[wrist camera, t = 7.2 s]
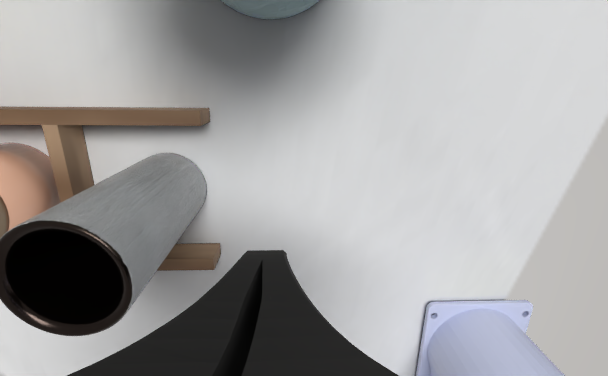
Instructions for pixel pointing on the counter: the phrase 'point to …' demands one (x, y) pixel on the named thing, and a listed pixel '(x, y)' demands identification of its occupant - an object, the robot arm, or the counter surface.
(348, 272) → the counter surface
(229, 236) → the counter surface
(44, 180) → the squat pot
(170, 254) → the walnut caddy
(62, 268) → the brushed metal tube
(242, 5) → the teal tapered cup
